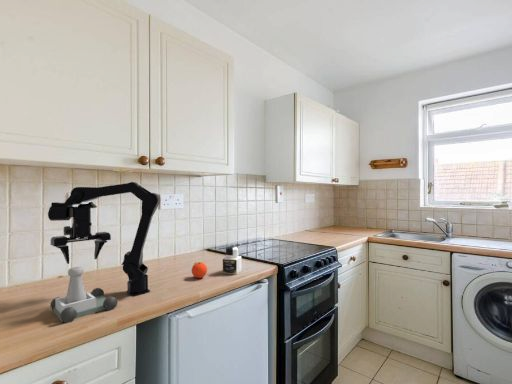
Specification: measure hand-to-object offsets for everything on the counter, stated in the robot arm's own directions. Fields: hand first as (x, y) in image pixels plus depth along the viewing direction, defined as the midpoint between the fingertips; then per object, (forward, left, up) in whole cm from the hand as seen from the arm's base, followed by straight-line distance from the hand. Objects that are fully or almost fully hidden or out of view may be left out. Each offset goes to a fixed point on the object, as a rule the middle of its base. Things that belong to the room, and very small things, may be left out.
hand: (82, 261), depth 107 cm
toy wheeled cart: (+3, +14, -13) cm, 20 cm away
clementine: (-43, +14, -13) cm, 47 cm away
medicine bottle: (-59, +19, -13) cm, 63 cm away
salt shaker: (+6, +14, -12) cm, 20 cm away
